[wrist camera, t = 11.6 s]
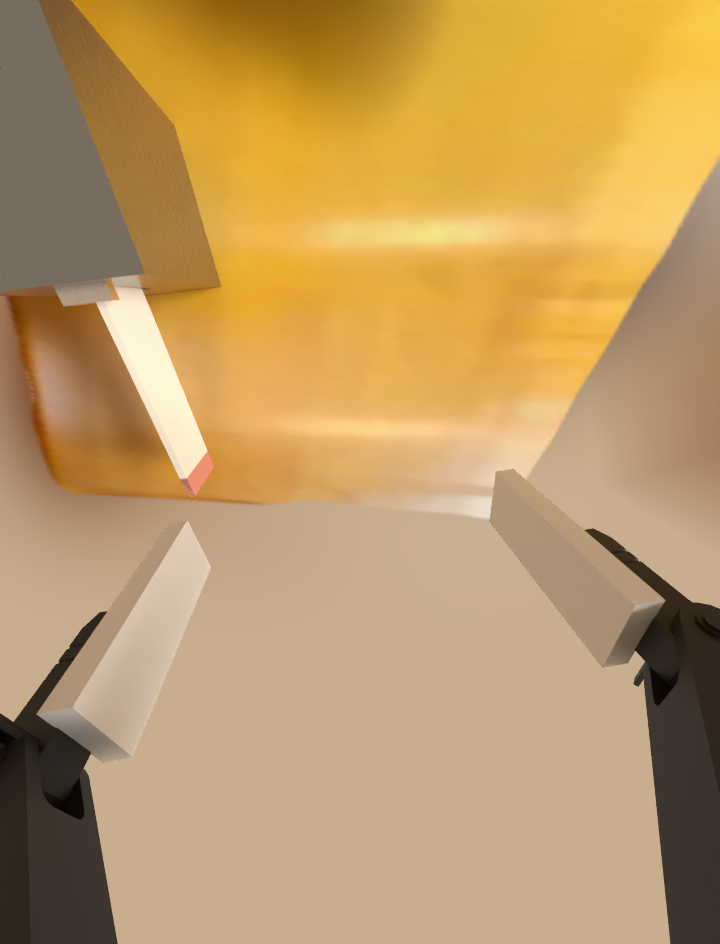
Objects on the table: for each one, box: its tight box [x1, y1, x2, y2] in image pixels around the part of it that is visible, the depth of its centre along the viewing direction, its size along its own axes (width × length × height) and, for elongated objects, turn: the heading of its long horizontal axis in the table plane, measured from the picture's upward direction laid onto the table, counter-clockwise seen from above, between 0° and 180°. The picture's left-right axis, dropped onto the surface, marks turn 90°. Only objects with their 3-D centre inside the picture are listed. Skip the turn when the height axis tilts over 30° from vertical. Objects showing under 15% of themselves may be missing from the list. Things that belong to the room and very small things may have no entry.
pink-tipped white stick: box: [96, 285, 214, 497], centre depth 27 cm, size 18×1×6 cm, turn 7°
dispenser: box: [0, 0, 221, 306], centre depth 22 cm, size 13×10×16 cm
